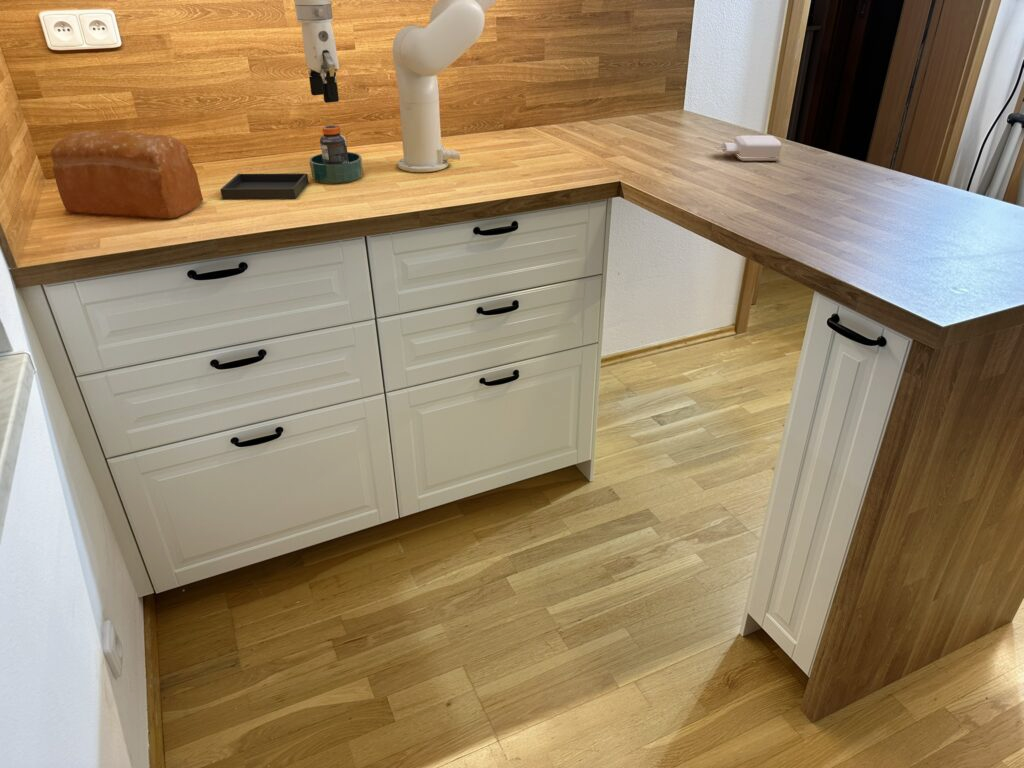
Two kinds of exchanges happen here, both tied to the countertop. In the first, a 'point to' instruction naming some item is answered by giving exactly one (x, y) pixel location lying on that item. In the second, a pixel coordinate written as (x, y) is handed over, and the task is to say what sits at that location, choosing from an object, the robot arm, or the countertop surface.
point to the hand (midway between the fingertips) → (325, 98)
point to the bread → (125, 174)
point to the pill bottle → (333, 146)
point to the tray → (265, 186)
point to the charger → (753, 148)
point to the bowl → (336, 169)
